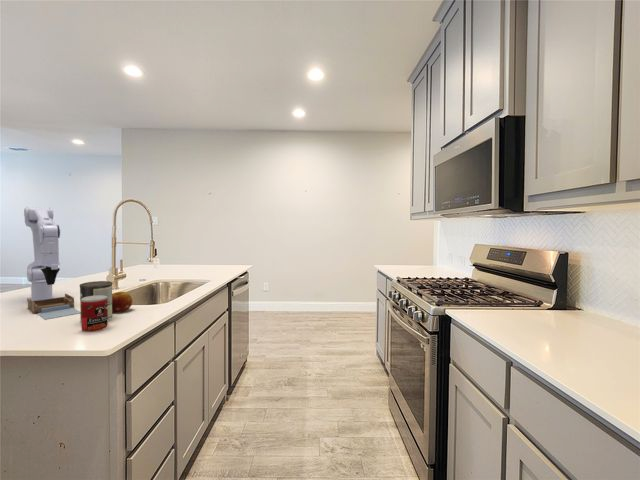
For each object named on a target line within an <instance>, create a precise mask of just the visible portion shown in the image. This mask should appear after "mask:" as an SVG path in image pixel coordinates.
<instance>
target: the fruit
mask: <svg viewBox="0 0 640 480" xmlns="http://www.w3.org/2000/svg"><path fill="white" fill-rule="evenodd" d="M132 305H133V297H132V295H131V294H130V293H129V292H128V291H127V292H126V291H117V292H112V313H123V311H124V312H126V311H128V310H129V309H130V308H131V307H132Z"/></svg>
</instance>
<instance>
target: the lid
mask: <svg viewBox="0 0 640 480" xmlns="http://www.w3.org/2000/svg"><path fill="white" fill-rule="evenodd" d="M37 315H38V316H40V318H41V319H43V320H44V321H47V320H51V319H58V318H62V317H69V316H75V315H80V310H78V309H76V308H75V307H74V308H70V305H69V304H68V305H62V306H55V307H49V308H43V309H41V313H37Z"/></svg>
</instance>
